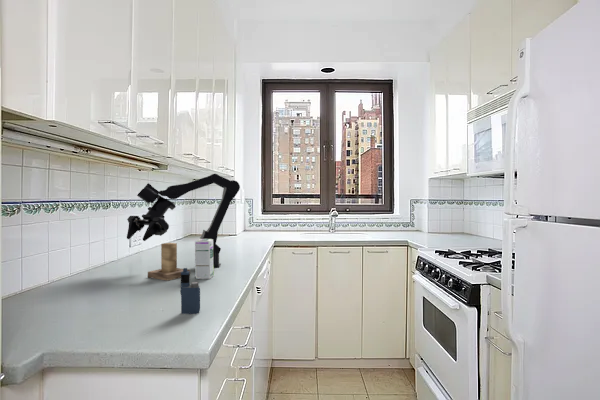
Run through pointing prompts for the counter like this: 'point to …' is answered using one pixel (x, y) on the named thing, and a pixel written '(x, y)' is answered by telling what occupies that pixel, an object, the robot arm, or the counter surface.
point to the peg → (168, 257)
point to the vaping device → (189, 294)
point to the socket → (165, 274)
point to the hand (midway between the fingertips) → (135, 239)
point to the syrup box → (204, 259)
